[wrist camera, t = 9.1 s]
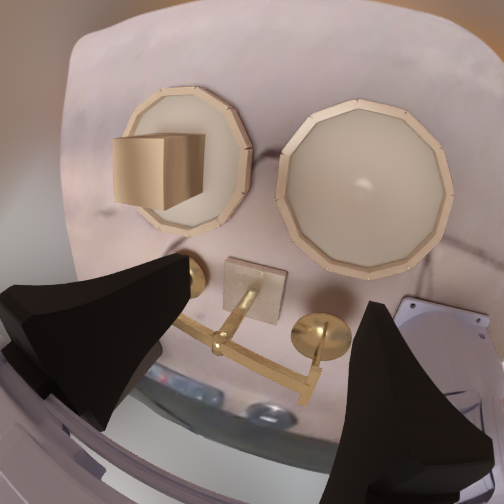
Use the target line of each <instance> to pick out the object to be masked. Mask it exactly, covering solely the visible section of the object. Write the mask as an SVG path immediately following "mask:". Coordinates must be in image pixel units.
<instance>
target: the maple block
mask: <svg viewBox="0 0 504 504" xmlns="http://www.w3.org/2000/svg"><path fill="white" fill-rule="evenodd" d="M204 151H205V134H188V133H151V134H143V135H135V136H128V137H121V138H115V139H113V180H114V197H115V202H118V203H124V204H129V205H134V206H139V207H144V208H149V209H154V210H159V211H166V210H168V209H170V208H172V207H174V206H176V205H178V204H180V203H182V202H184V201H186V200H188V199H190V198H192V197H194V196H196V195H199V194H201V193H203V171H204Z"/></svg>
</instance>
